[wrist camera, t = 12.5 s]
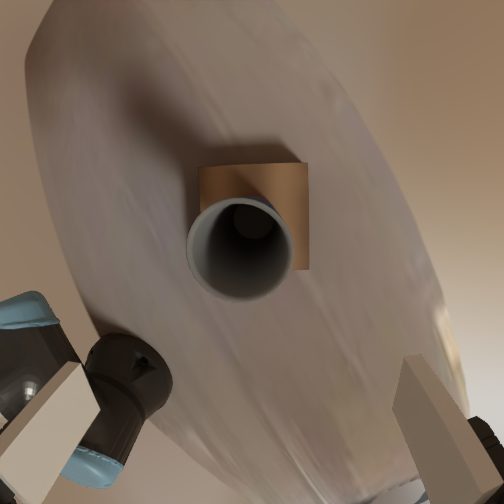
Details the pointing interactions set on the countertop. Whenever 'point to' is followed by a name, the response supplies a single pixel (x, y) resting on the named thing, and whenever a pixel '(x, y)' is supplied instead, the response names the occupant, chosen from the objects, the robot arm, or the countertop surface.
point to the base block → (265, 195)
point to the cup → (240, 249)
